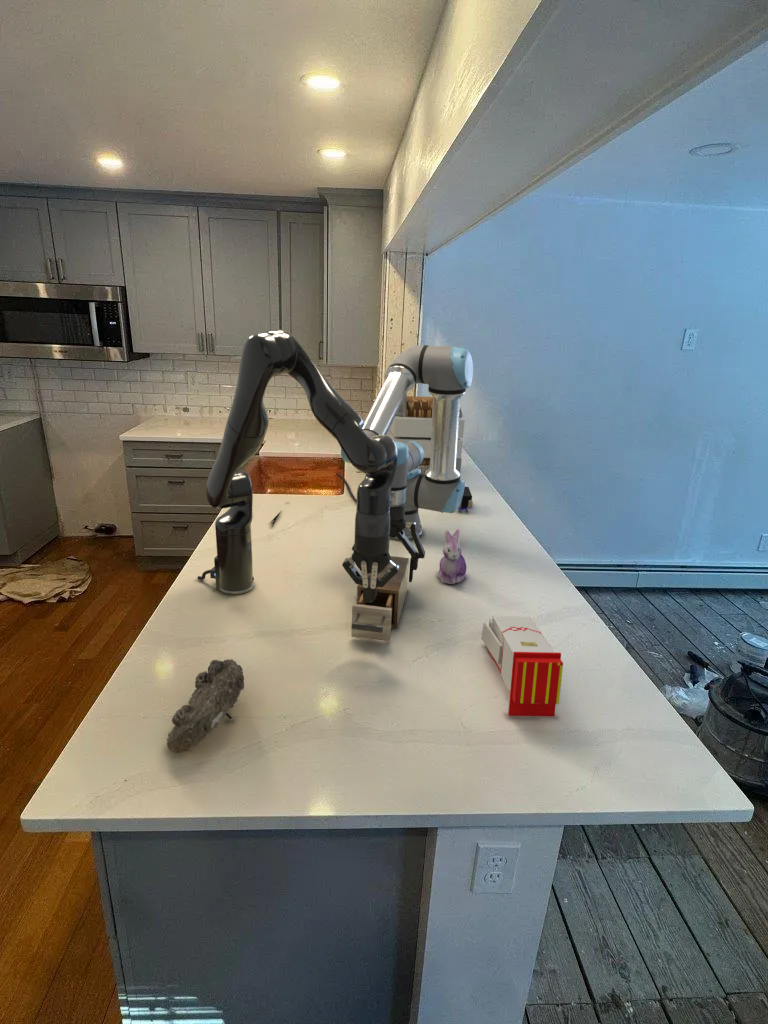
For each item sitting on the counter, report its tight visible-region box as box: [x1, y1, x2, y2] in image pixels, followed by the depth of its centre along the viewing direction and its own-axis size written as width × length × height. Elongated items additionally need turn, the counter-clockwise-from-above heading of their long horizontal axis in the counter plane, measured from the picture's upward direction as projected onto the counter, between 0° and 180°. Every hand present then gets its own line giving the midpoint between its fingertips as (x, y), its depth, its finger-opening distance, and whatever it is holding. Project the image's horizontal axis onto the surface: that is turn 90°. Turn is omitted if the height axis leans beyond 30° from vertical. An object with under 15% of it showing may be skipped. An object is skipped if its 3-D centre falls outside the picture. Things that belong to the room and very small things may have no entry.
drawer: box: [350, 592, 395, 642], centre depth 139 cm, size 24×9×8 cm, turn 171°
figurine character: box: [458, 486, 474, 513], centre depth 227 cm, size 7×8×15 cm
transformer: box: [386, 393, 465, 475], centre depth 268 cm, size 34×33×41 cm
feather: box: [268, 510, 282, 527], centre depth 212 cm, size 2×28×2 cm
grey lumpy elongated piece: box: [166, 658, 245, 754], centre depth 106 cm, size 22×10×15 cm
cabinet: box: [356, 555, 410, 628], centre depth 149 cm, size 20×10×10 cm, turn 171°
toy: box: [481, 615, 564, 718], centre depth 123 cm, size 12×13×30 cm
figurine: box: [438, 528, 467, 585], centre depth 166 cm, size 9×10×15 cm
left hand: (369, 601), depth 127 cm, fingers closed
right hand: (387, 577), depth 154 cm, fingers open, 12 cm apart
